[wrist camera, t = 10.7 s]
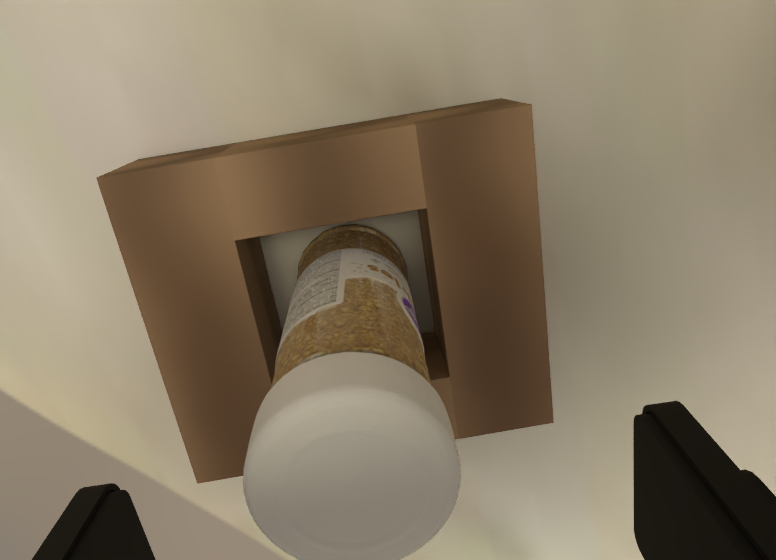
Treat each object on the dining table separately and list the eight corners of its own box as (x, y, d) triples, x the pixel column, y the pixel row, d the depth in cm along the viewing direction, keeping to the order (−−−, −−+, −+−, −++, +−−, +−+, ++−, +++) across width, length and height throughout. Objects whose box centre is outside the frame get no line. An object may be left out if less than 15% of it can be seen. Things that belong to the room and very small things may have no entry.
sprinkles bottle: (427, 282, 25) (507, 505, 12) (342, 343, 26) (335, 613, 13) (360, 197, 23) (374, 351, 11) (273, 265, 24) (189, 481, 12)
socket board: (500, 98, 22) (531, 104, 19) (524, 372, 27) (553, 422, 23) (138, 159, 22) (96, 177, 19) (218, 424, 27) (197, 483, 23)
